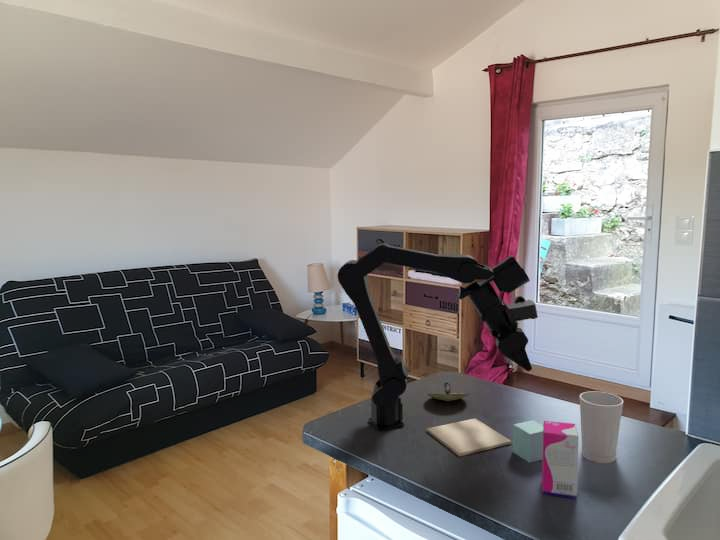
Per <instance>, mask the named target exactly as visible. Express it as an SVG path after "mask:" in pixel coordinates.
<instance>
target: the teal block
mask: <svg viewBox="0 0 720 540" xmlns="http://www.w3.org/2000/svg"><path fill="white" fill-rule="evenodd" d="M543 427H544V424H543V425H542V424H541V423H539V422H537V421H535V420H534V419H532V420H527V421H523V422H518V423H514V424H513V427H512V429H513V430H512V436H513V437H512V453H513V454H515V455H516V456H517V457H520V458H521V459H523V460H524V461H526V462H527V463H530V462H531V463H534V462H538V461H543Z"/></svg>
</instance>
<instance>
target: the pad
mask: <svg viewBox="0 0 720 540" xmlns="http://www.w3.org/2000/svg"><path fill="white" fill-rule="evenodd" d="M426 432H427V433H428V434H430V435H431V436H432V437H433V438H435V439H436V440H437V441H439V442H440V443H441V444H443V445H444V446H445V447H446V448H448V449H449V450H450V451H451V452H453V453H454V454H455V455H457V456H458V457H463V456H467V455H471V454H475V453H478V452H479V453H480V452H482V451H487V450H491V449H495V448H499V447H503V446H507V445H512V440H511V439H509V438H507V437H506V436H504V435H502V434H501V433H499V432H498V431H496V430H494V429H492V427H490V426H488V425H487V424H485V423H484V422H482V421H480V420H478V419H477V418H476V417H475V418H471V419H470V418H469V419H465V420H462V421H456V422H451V423H446V424H442V425H437V426H432V427H428V428H426Z"/></svg>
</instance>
